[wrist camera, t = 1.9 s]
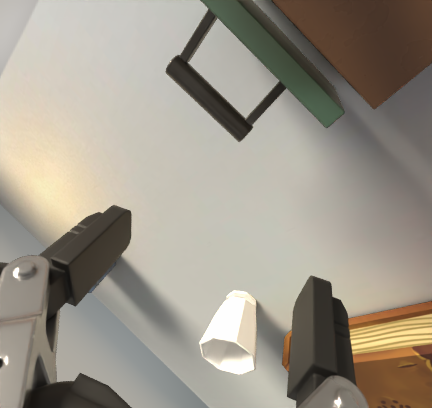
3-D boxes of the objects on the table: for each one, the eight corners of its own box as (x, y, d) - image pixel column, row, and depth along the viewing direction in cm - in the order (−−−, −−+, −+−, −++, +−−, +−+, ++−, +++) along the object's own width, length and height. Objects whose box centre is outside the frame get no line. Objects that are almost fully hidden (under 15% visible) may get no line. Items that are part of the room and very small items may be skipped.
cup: (275, 297, 36) (266, 355, 29) (250, 335, 42) (238, 392, 35) (225, 275, 37) (206, 328, 30) (207, 316, 42) (188, 368, 36)
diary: (285, 330, 39) (281, 371, 34) (439, 297, 29) (464, 348, 24) (363, 421, 44) (369, 467, 40) (514, 420, 34) (546, 480, 30)
